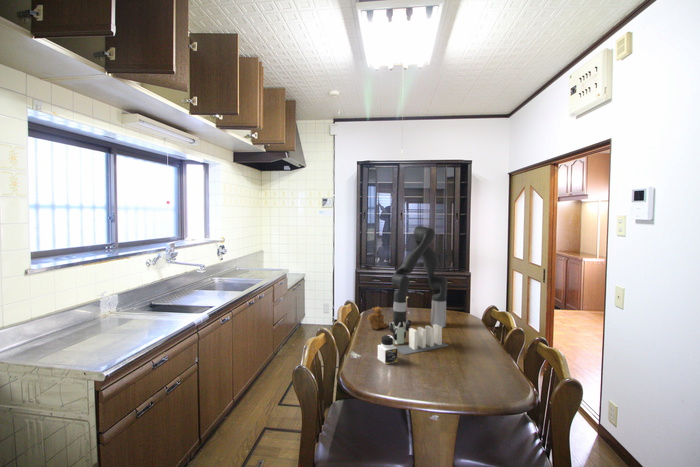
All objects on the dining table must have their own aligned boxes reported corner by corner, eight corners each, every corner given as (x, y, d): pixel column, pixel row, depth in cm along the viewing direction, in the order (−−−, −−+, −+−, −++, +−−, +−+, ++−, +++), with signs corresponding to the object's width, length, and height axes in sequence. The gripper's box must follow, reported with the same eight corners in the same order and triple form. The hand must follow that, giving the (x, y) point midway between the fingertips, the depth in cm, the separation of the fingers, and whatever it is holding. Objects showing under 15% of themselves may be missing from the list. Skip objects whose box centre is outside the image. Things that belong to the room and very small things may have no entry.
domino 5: (438, 345, 173) (439, 327, 173) (432, 342, 178) (433, 324, 178) (441, 344, 174) (441, 326, 174) (435, 341, 179) (436, 324, 178)
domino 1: (394, 343, 177) (394, 325, 176) (402, 341, 179) (402, 324, 178) (396, 344, 175) (396, 326, 175) (404, 343, 177) (404, 325, 177)
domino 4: (430, 346, 171) (431, 328, 171) (425, 343, 176) (425, 325, 175) (433, 346, 172) (434, 328, 172) (427, 342, 176) (428, 325, 176)
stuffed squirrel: (388, 326, 206) (388, 306, 206) (379, 332, 194) (379, 311, 194) (374, 323, 212) (374, 304, 211) (364, 329, 199) (365, 309, 199)
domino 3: (422, 348, 169) (423, 330, 168) (417, 344, 173) (417, 327, 173) (425, 347, 170) (426, 329, 169) (420, 344, 174) (420, 326, 174)
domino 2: (414, 349, 166) (414, 331, 166) (408, 346, 171) (409, 328, 171) (417, 349, 167) (417, 330, 167) (411, 345, 172) (412, 328, 172)
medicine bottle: (385, 364, 150) (385, 340, 149) (377, 358, 156) (377, 335, 156) (397, 361, 153) (397, 337, 152) (389, 356, 159) (389, 333, 159)
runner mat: (393, 347, 170) (393, 347, 170) (436, 339, 182) (437, 339, 182) (403, 355, 161) (403, 354, 161) (448, 346, 173) (448, 345, 173)
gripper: (406, 306, 183) (406, 335, 183) (385, 309, 177) (385, 338, 177) (414, 309, 176) (413, 339, 176) (392, 312, 170) (392, 343, 170)
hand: (399, 338), depth 177 cm, fingers closed on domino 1, 5 cm apart
